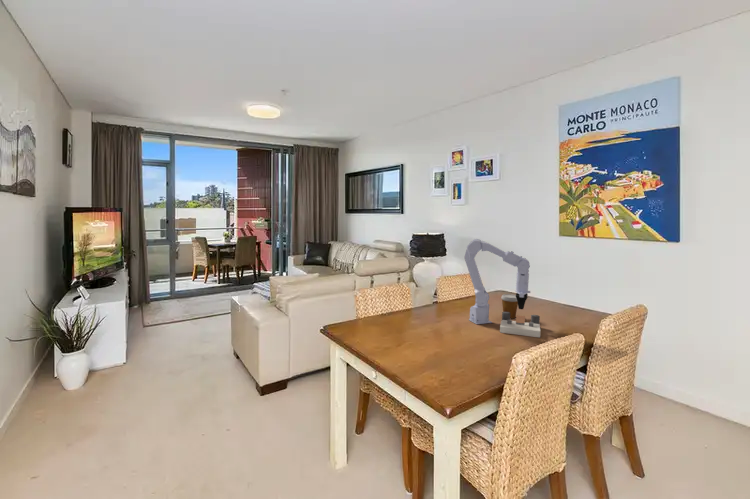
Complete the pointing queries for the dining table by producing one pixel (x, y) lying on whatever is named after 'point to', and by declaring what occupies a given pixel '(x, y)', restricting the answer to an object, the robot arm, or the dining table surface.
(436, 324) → the dining table surface
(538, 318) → the post
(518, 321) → the tan rectangular block
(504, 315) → the post
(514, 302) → the disposable coffee cup
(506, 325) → the panel
